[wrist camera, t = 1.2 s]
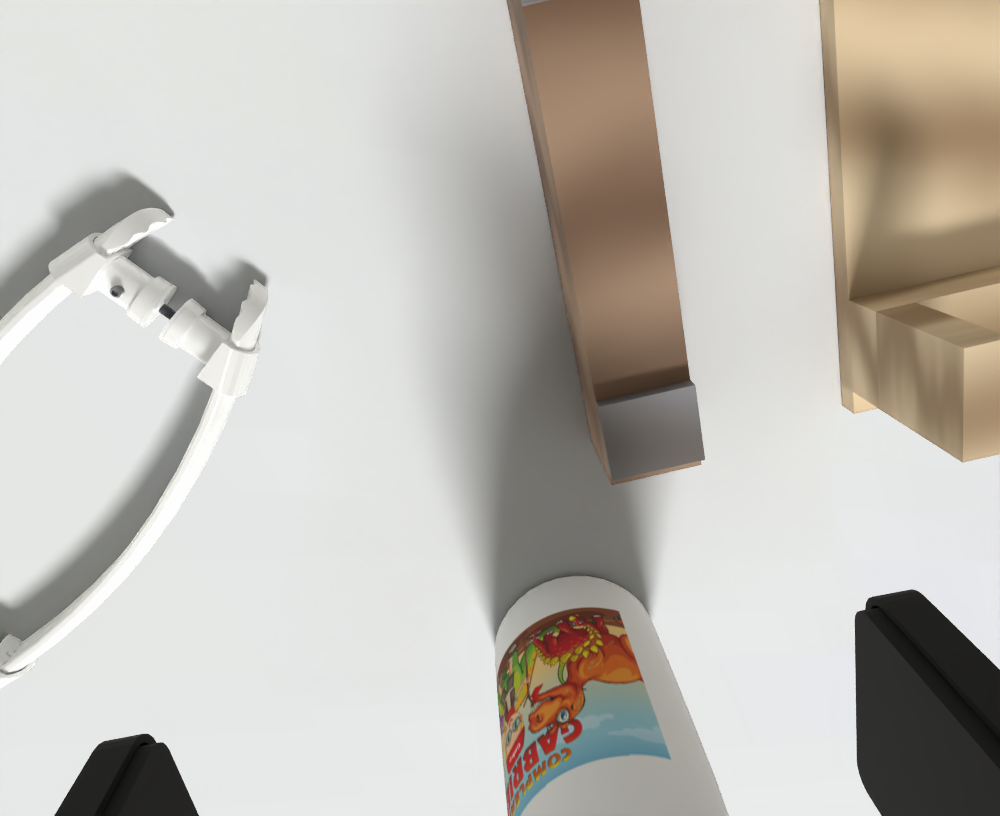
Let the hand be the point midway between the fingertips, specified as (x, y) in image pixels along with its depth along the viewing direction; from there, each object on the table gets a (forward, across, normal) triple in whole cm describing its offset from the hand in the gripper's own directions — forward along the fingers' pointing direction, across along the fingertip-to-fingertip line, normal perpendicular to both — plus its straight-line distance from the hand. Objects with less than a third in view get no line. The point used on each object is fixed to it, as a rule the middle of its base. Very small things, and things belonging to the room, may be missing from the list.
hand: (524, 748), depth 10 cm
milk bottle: (+22, -2, +16) cm, 27 cm away
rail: (+22, -5, -5) cm, 23 cm away
